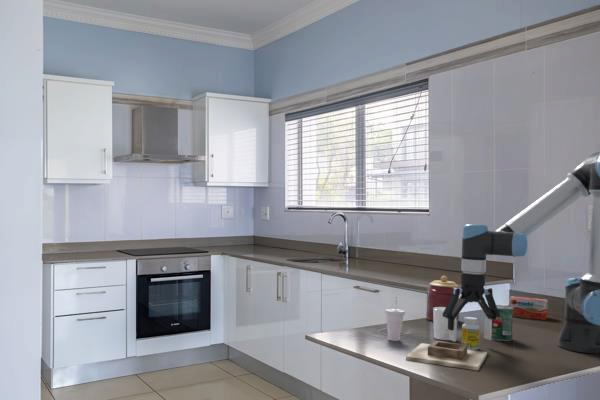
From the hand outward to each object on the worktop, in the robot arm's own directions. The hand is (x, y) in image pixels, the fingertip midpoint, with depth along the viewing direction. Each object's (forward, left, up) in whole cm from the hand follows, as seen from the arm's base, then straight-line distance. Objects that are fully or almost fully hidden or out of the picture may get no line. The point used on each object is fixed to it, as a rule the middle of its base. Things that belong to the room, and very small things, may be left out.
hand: (470, 339), depth 191 cm
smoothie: (+24, +3, -3) cm, 24 cm away
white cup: (+10, -10, -3) cm, 14 cm away
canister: (+17, -45, -3) cm, 48 cm away
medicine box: (-13, -78, -3) cm, 79 cm away
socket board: (+4, +17, -3) cm, 18 cm away
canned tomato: (-7, -22, -3) cm, 23 cm away
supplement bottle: (0, 0, -3) cm, 3 cm away
